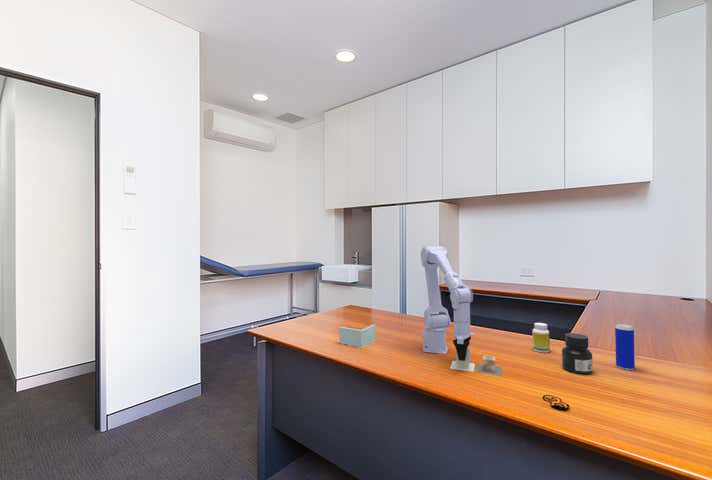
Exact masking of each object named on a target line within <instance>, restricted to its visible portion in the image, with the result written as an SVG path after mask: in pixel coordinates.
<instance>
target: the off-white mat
mask: <svg viewBox="0 0 712 480" xmlns="http://www.w3.org/2000/svg"><path fill="white" fill-rule="evenodd" d="M475 365H476V364H475V363H473V362H470V364H469V365H463V364H456V360H452V361H451V365H450V366H449V368H450V369H451V370H458V371H464V372H473V373H474V372H475Z"/></svg>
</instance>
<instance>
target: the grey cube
mask: <svg viewBox="0 0 712 480" xmlns="http://www.w3.org/2000/svg"><path fill="white" fill-rule="evenodd" d="M482 364H483V371H489V372H496V370H495V366H496V356H491V355H490V356H489V355H482Z"/></svg>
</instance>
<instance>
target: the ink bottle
mask: <svg viewBox="0 0 712 480" xmlns="http://www.w3.org/2000/svg"><path fill="white" fill-rule="evenodd" d="M564 338H565V339H564V341H565V342H564V344H565V346H564V347H563V348H562V350H561V366H562V369H564V370H566V371H568V372H571V373H574V374H579V375H589V374H592V373H593V353H592V352H591V351H590V350H589V337H588V336H587V335H584V334H582V333H573V332H571V333H570V332H569V333H565V334H564Z"/></svg>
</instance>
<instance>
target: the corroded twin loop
mask: <svg viewBox="0 0 712 480" xmlns="http://www.w3.org/2000/svg"><path fill="white" fill-rule="evenodd" d="M542 399H543V400H544V401H545V402H549V403H550V407H551V408H554V409H555V410H559V411H568V409H569V408H570V405H569V404H568V403H566V402H564V401H562V399H561V398H560V397H558V396H554V395H550V394H543V396H542ZM550 399H551V400H550ZM558 400H560V401H559V402H558ZM552 402H555V403H553V404H552ZM565 405H566V406H565Z"/></svg>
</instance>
